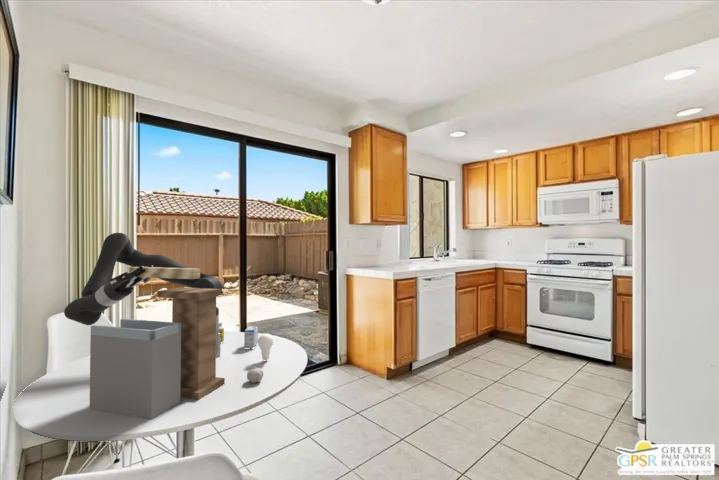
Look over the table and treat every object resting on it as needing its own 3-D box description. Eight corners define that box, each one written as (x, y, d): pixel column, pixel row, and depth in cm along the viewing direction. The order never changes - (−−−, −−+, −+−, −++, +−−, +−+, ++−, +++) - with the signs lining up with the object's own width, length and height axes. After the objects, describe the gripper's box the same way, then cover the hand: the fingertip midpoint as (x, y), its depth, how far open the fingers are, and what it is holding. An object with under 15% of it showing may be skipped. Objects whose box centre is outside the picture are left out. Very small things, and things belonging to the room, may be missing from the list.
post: (151, 392, 107) (152, 291, 107) (180, 378, 118) (181, 286, 119) (198, 399, 102) (199, 293, 103) (224, 384, 114) (225, 288, 114)
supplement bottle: (222, 340, 166) (222, 320, 167) (224, 342, 162) (225, 322, 162) (210, 342, 163) (210, 322, 164) (212, 344, 159) (213, 324, 159)
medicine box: (248, 344, 159) (248, 326, 159) (258, 344, 160) (258, 325, 160) (244, 349, 151) (244, 330, 152) (254, 349, 152) (254, 330, 152)
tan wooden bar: (129, 276, 115) (129, 267, 115) (137, 275, 118) (137, 266, 119) (192, 279, 109) (192, 269, 109) (199, 278, 112) (200, 268, 112)
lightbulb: (276, 359, 138) (276, 332, 138) (267, 364, 132) (267, 336, 133) (263, 357, 140) (263, 331, 140) (254, 362, 134) (254, 334, 135)
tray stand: (89, 408, 96) (90, 326, 97) (122, 393, 106) (123, 318, 106) (151, 419, 91) (152, 331, 91) (180, 402, 100) (181, 323, 101)
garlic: (244, 380, 117) (244, 365, 117) (259, 377, 120) (259, 362, 120) (250, 386, 112) (250, 370, 112) (265, 382, 115) (266, 367, 115)
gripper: (89, 284, 113) (125, 259, 109) (128, 280, 126) (161, 257, 123) (97, 304, 112) (134, 279, 108) (136, 297, 125) (169, 275, 122)
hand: (148, 268), depth 115 cm, fingers closed on tan wooden bar, 3 cm apart
